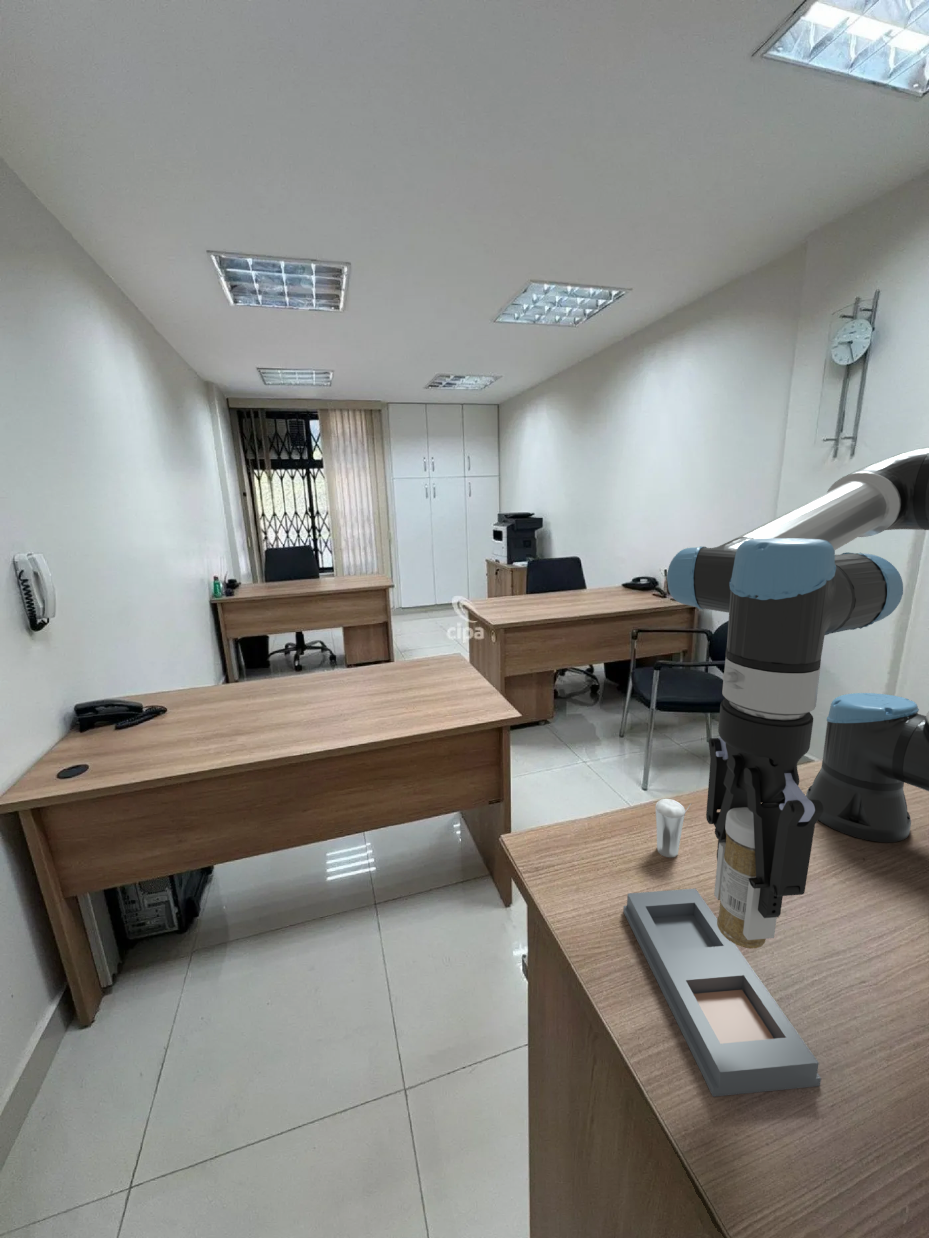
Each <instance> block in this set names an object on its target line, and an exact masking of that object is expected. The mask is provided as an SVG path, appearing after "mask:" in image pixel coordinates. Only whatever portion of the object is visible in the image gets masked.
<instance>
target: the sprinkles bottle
mask: <svg viewBox="0 0 929 1238" xmlns="http://www.w3.org/2000/svg"><path fill="white" fill-rule="evenodd" d="M725 830H726V846H725V853H724V859H723V871H722V880H721V891H720V900H719V909H718V910H719V911H718V916H717V926H718V928H719V930H720V932H721V933H722V934H723V935H724V937H725V938H726V939H728V940H729V941H731V942H732V943H734V944H735V945H736V946H737V947H741V948H745V949H751V950H752V949H753V950H754V949H759V948H761V947H763V945H765V943H766V939H756V940H747V938H746V937H745V936H744V934H743V929H744V920H745V911H746V902H747V893H748V884H749V877H756V863H755V841H754V819H753V813H752V812H751V811H750V810H749V809H748V807H742V808H733V809H730V810H729V811H728V812H727V816H726V824H725Z"/></svg>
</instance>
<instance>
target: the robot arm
mask: <svg viewBox="0 0 929 1238" xmlns="http://www.w3.org/2000/svg"><path fill="white" fill-rule="evenodd" d="M892 530H913V531H915V530H916V531H917V530H921V531H922V530H924V531H929V446H926V447H922V448H916V449H912V450H909V451H904V452H902V453H898V454H896V455H892V456H890V457H887V458H884V459H881V460H878V461H875V462H873V463H871V464H869V465H866V466H864V467H862V468H859V469H856V470H854V471H853V472H851V473H848V474H846V475H844V476H842V477H840V478H839V479H837V480H836V481H834V483H833V484H831V486H830V487H829V488H828V489H827V492H826V493H823V494H822V495H820V496H818V497H816V498H814V499H811V500H810V501H807V502H806V503H804V504H802V505H800V506H798V507H796V508H794V509H792V510H789V511H787V512H785V513H783V514H782V515H779V516H778V517H776V518H774V519H771V520H769V521H767V522H766V523H763V524H762V525H760V526H758V527H756V528H754V529H751V530H749V531H748V532H746V533H744V534H742V535H740V536H737V537H735V538H733V539H731V540H729V541H726V542H724V543H723V544H721V545H719V546H716V547H715V546H714V547H706V546H699V547H698V546H697V547H687V548H683V549H681V550H680V551H678V552H677V553H676V554H675V556H673V558H672V559H671V561H670V562H669V563H670V564H669V565H668V569H667V572H666V573H667V574H666V583H667V589H668V592H669V594H670V596H671V597H672V599H674V600H675V601H676V602H678V603H679V604H683V605H686V606H691V607H695V608H697V609H698V610H711V611H715V612H717V611H718V612H720V613H721V612H723V613H727V614H728V624H727V640H726V641H727V642H726V647H725V660H724V662H725V663H724V669H723V671H724V672H723V673H722V680H723V682H722V692H721V693H722V696H723V697H724V699H723V700H722V701H721V702H720V704H719V706H720V707H719V716H718V717H719V718H718V727H717V728H718V729H717V730H718V731H717V732H718V736H719V737H710V738H708V750H709V757H710V762H709V774H708V775H709V776H708V787H707V788H708V789H707V790H708V791H707V800H706V812H705V813H706V815H705V817H706V818H705V819H706V821H707V823H708V824H709V825H713V826H714V835H715V837H716V839H717V850H716V873H715V880H714V881H715V882H714V892H713V893H714V895H713V896H714V897H715V898H716V900H717V901H720V891H721V880H722V871H723V859H724V853H725V846H726V830H725V824H726V816H727V812H728V811H729V810H730V809H733V808H742V807H748V809H749V810H750V811H751V812H752V813H753V819H754V841H755V863H756V877H749V884H748V893H747V902H746V911H745V920H744V929H743V934H744V936H745V937H746V938H747V940H756V939H775V933H776V928H777V927H776V925H777V918H779V917H780V916H781V914H782V905H783V897H788V896H789V897H790V896H800V895H804V894H805V892H806V885H807V878H808V874H809V873H808V872H809V871H808V870H809V868H810V867H809V866H810V860H811V859H810V858H811V853H812V846H813V839H814V836H815V835H814V832H815V827H816V824H817V822H818V821H819V822H821V823H822V824H824V825H825V826H827V827H829V828H831V829H833V830H835V831H838V832H840V833H842V834H844V835H848V836H851V837H854V838H858V839H861V840H865V841H871V842H872V841H873V842H877V843H878V842H879V843H896V842H900V841H903V840H905V839H907V838H908V837H909V835H910V831H911V826H912V820H911V815H910V813H909V811H908V805H907V799H906V796H905V792H904V786H905V784H907V785H910V786H913V787H915V788H918V789H921V790H924V791H926V792H929V711H927V713H926V715H924V714H919V711H920V709H919V707H918V704H917V703H916V702H915V701H913V700H910V699H908V698H905V697H902V696H898V695H892V694H885V693H874V692H855V693H846V694H842V695H840V696H839V695H838V696H837V697H835V698H834V699H833V700H832V701H831V703H830V708H829V712H828V716H827V717H826V729H825V736H824V737H825V739H824V746H823V753H822V760H821V762H822V763H821V768H820V770H818V773H817V774H816V776H815V778H814V780H813V782H812V784H811V785H810V786H809V787H808V789H807V790H806V794H805V792H803V790H802V789H801V788H800V787H799V785H800V776H799V775H800V774H799V770H798V762H799V761H800V760H801V759H802V758H803V757H804V756H805V755H806V754H807V753H808V752H809V750H810V747H811V738H812V732H813V725H814V716H813V715H812V714H811V712H812V711H814V710H815V709H816V707H817V700H818V691H819V683H820V682H819V681H820V673H821V664H822V662H821V661H822V655H823V648H824V647H823V646H824V641H825V637H826V636H828V635H830V634H835V633H839V632H844V631H849V630H850V631H851V630H852V631H853V630H857V629H863V628H868V627H869V626H870V625H873V624H874V623H876V622H879V621H882V620H884V619H886V618H887V617H888V616H891V614H893V612H894V611H895V610H896V609H897V607H898V606H899V604H900V603H901V600H902V597H903V595H904V583H903V579H902V576H901V574H900V572H899V571H898V570H897V568H896V567H895V566H894V564H892V562H890V561H888V560H887V559H885V558H883V557H881V556H878V555H875V554H871V553H862V552H843V553H841V554H836V553H835V552H836V550H838V549H840V548H841V547H843V546H845V545H847V544H849V543H850V542H852V541H854V540H856V539H857V538H868V537H872V536H875V535H878V534H880V533H882V532H885V531H892Z"/></svg>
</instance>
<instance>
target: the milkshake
mask: <svg viewBox="0 0 929 1238" xmlns="http://www.w3.org/2000/svg"><path fill="white" fill-rule="evenodd" d="M691 805H692V803H690V804H689V805H688V807H687V808H686V809H685V807H684V805H682V804H681V803H680V802H678V801H676V800H675V799H670V798H662V799H659V800H658V801H657V802H656V803H655V821H656V822H655V824H656V849H657V853H658V854H660V855H661V856H663V857H666V858H668V859H669V858H671V859H672V858H675V857H677V856H678V855H679V850H680V843H681V837H682V831H683V825H684V821H685V820H684V819H685V816H686V812H687V811H688V809H689V808H690V806H691Z"/></svg>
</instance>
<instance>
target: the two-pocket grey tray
mask: <svg viewBox="0 0 929 1238" xmlns="http://www.w3.org/2000/svg"><path fill="white" fill-rule="evenodd" d="M622 908H623V914H624V916H625V919H626V921H627V922H628V924H629V926H630V928H631V930H632V932H633V934H634V937H635V939H636V940H637V943H638V945H639V947H640V949H641V952H642V953H643V955H644V957H645V959H646V962H647V963H648V966H649V967H650V970H651V972H652V974H653V976H654V978H655V980H656V982H657V984H658V986H659V989H660V991H661V992H662V994H663V997H664V999H665V1001H666V1003H667V1005H668V1007H669V1009H670V1011H671V1014H672V1015H673V1017H674V1020H675V1022H676V1023H677V1026H678V1028H679V1029H680V1032H681V1034H682V1036H683V1038H684V1040H685V1042H686V1045H687V1047H688V1049H689V1050H690V1053H691V1054H692V1057H693V1059H694V1061H695V1062H696V1065H697V1067H698V1069H699V1071H700V1072H701V1074H702V1077H703V1080H704V1081H705V1083H706V1085H707V1087H708V1090H709V1092H710V1094H711V1096H712V1097H713V1098H714V1097H725V1096H733V1095H734V1096H735V1095H745V1094H753V1093H764V1092H765V1093H766V1092H773V1091H783V1090H793V1089H804V1088H814V1087H820V1086H821V1082H822V1077H821V1076H820V1074H819V1073H818V1070H819V1065H820V1062H819V1061H818V1059H817V1058H816V1057H815V1055H814V1053H813V1052H812V1051H811V1050H810V1048H809V1047H808V1045H807V1044H806V1043H805V1041H804V1039H803V1038H802V1036H801V1035H800V1034H799V1033H798V1031H797V1029H796V1028H795V1027H794V1025H793V1023H791V1021H790V1020H789V1018H788V1017H787V1016H786V1014H785V1013H784V1012H783V1010H782V1008H781V1007H780V1006H779V1004H778V1002H777V1001H776V1000H775V999H774V997H773V996H772V994H771V993H770V991H769V990H768V989H767V987H766V986H765V984H764V983H763V982H762V980H761V979H760V978H759V976H758V975H757V973H756V972H755V971H754V969H753V967H752V966H751V964H750V963H749V962H748V960H747V959H746V957H745V956H744V954H743V953H742V952H741V950H740V949H739V947H738V945H736V944H734V943H732V942H731V941H729V940H728V939H726V938H725V937H724V935H723V934H722V933H721V932H720V930H719V928H718V926H717V919H718V917H717V916H716V915H715V914H714V912H713V911H712V910H711V908H710V907H709V905H708V904H707V903H706V901H705V899H704V898H703V897H702V896H701V894H700V893H699V890H698V889H697V888H685V889H683V888H682V889H672V890H670V889H669V890H656V891H641V892H631V893H630V892H629V893H627V897H626V905H623V907H622Z"/></svg>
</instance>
